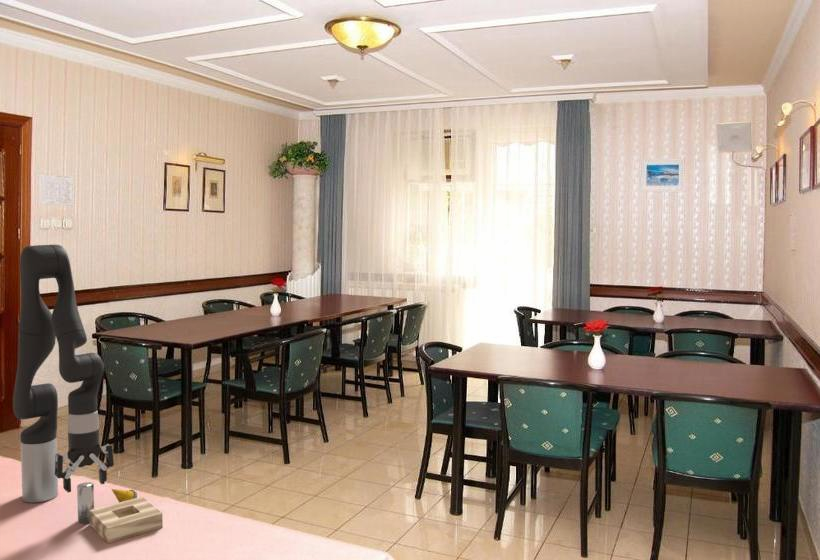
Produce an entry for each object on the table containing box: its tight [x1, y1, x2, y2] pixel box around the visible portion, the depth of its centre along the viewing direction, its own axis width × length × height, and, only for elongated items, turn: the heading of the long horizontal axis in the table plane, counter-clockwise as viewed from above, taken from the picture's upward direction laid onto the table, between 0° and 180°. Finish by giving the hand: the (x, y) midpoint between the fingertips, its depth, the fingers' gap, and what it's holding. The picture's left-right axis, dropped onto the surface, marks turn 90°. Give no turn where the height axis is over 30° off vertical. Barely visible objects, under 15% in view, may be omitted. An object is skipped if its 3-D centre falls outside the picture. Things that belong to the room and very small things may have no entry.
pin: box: [76, 481, 95, 525], centre depth 184 cm, size 4×4×10 cm
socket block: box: [89, 496, 164, 544], centre depth 182 cm, size 14×14×4 cm
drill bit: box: [111, 488, 138, 503], centre depth 193 cm, size 5×5×10 cm
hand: (85, 487), depth 184 cm, fingers open, 8 cm apart
